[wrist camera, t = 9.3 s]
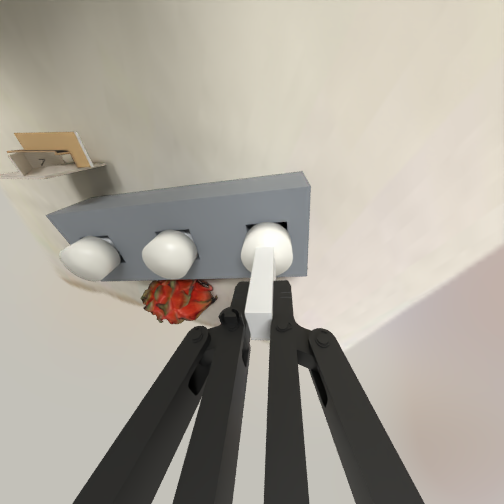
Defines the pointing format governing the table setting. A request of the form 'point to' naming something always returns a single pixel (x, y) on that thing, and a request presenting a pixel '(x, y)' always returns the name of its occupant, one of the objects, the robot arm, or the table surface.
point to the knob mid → (170, 253)
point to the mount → (195, 223)
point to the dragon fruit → (177, 299)
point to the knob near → (268, 245)
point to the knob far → (91, 257)
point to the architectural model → (48, 155)
